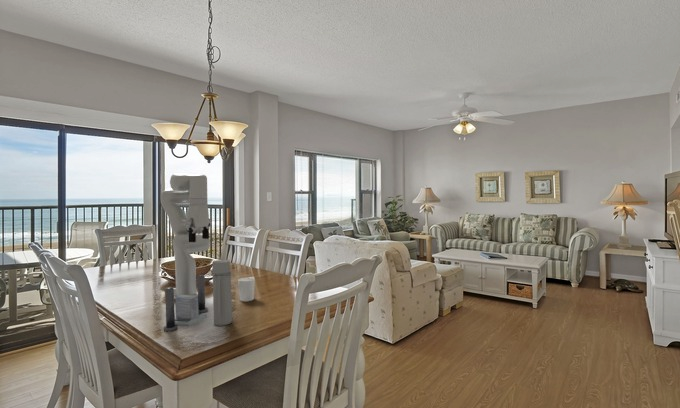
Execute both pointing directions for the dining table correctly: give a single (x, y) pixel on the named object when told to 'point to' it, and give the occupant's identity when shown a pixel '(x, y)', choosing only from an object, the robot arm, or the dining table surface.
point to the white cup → (246, 288)
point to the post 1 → (170, 310)
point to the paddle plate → (189, 320)
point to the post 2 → (201, 294)
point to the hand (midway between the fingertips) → (199, 240)
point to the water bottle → (222, 292)
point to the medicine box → (186, 306)
